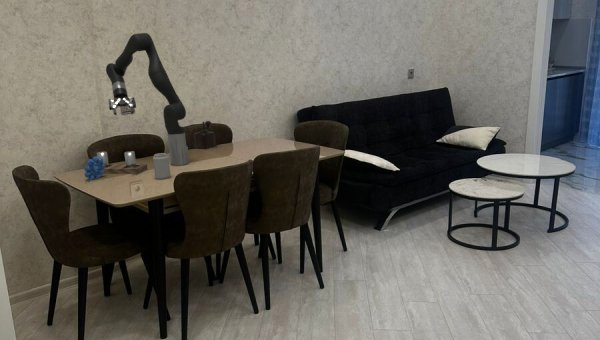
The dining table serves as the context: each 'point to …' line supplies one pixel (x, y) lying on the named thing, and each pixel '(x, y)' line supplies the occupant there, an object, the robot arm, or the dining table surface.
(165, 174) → the can
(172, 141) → the robot arm
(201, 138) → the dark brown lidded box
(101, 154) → the billet
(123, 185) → the dining table surface
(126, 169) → the brown wooden tray
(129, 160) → the billet
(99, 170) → the grapes
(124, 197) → the dining table surface
